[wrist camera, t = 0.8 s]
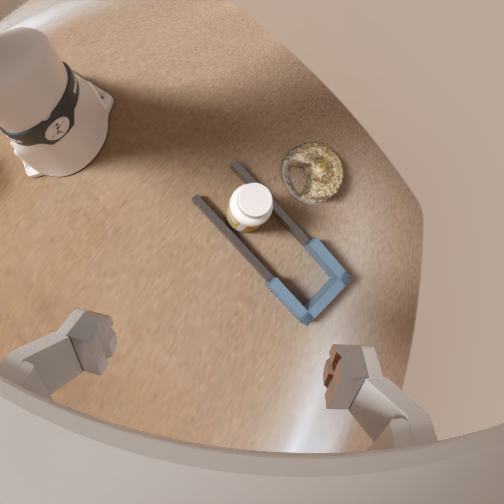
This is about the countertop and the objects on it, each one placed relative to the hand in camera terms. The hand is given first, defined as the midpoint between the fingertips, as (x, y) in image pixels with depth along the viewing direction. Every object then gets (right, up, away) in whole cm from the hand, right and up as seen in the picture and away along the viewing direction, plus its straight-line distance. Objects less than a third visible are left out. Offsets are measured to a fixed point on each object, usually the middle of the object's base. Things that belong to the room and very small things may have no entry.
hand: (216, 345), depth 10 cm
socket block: (+9, 0, +34) cm, 35 cm away
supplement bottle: (0, +9, +34) cm, 35 cm away
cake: (+10, +15, +36) cm, 40 cm away
